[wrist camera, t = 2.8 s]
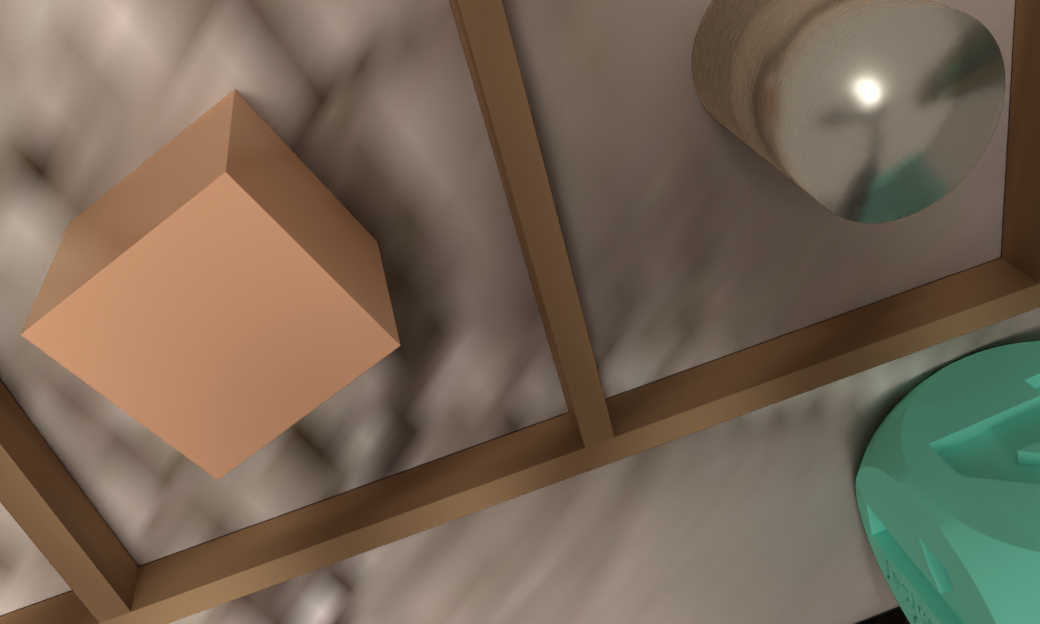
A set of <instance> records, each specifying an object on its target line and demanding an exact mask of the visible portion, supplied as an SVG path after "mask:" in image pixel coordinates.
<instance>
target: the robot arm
mask: <svg viewBox="0 0 1040 624" xmlns="http://www.w3.org/2000/svg"><path fill="white" fill-rule="evenodd" d="M868 624H910V622H909V621H908V619H907V617H906V616H905V614H904V612H903V611H900V612H897V613H895V614H892V615H889V616H887V617H884V618H882V619H879V620H876V621H874V622H871V623H868Z"/></svg>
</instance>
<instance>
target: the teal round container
mask: <svg viewBox="0 0 1040 624" xmlns="http://www.w3.org/2000/svg"><path fill="white" fill-rule="evenodd" d="M856 498H857V503H858V508H859V512H860V516H861V519H862V523H863V526H864V529H865V532H866V535H867V537H868V540H869V543H870V545H871V548H872V550H873V553H874V555H875V557H876V560H877V562H878V564H879V566H880V568H881V571H882V573H883V575H884V577H885V579H886V581H887V583H888V585H889V587H890V589H891V591H892V592H893V594H894V596H895V598H896V600H897V602H898V604H899V605H900V607H901V609H902V611H903V612H904V614H905V616H906V617H907V619H908V621H909V622H910V624H1040V341H1032V342H1022V343H1015V344H1009V345H1004V346H999V347H995V348H991V349H988V350H984V351H981V352H978V353H975V354H972V355H969V356H967V357H964V358H962V359H960V360H958V361H955V362H953V363H951V364H949V365H948V366H946V367H944V368H942V369H941V370H939V371H937V372H936V373H934V374H933V375H931V376H930V377H928V378H927V379H925V380H924V381H923V382H921V383H920V384H919V385H917V386H916V387H915V388H914V389H912V390H911V391H910V392H909V393H908V394H907V395H906V396H905V397H903V398H902V399H901V400H900V401H899V402H898V403H897V404H896V406H895V407H894V408H893V409H892V410H891V411H890V412H889V414H888V415H887V416H886V417H885V419H884V420H883V421H882V423H881V424H880V425H879V427H878V428H877V430H876V432H875V433H874V435H873V437H872V439H871V440H870V442H869V444H868V447H867V449H866V451H865V454H864V456H863V459H862V462H861V465H860V468H859V471H858V474H857V477H856Z"/></svg>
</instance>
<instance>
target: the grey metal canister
mask: <svg viewBox="0 0 1040 624" xmlns="http://www.w3.org/2000/svg"><path fill="white" fill-rule="evenodd" d="M692 72H693V80H694V84H695V88H696V91H697V94H698V96H699V98H700V100H701V102H702V104H703V106H704V107H705V108H706V110H707V111H708V112H709V114H710V115H711V116H713V117H714V118H715V119H716V120H717V121H718V122H719V123H721V124H722V125H723V126H724V127H726V128H727V129H728V130H729V131H731V132H732V133H733V134H734V135H736V136H737V137H738V138H739V139H741V140H742V141H743V142H744V143H746V144H747V145H748V146H749V147H751V148H752V149H753V150H754V151H756V152H757V153H758V154H759V155H761V156H762V157H763V158H764V159H766V160H767V161H768V162H769V163H771V164H772V165H773V166H774V167H776V168H777V169H778V170H779V171H781V172H782V173H783V174H784V175H786V176H787V177H788V178H789V179H791V180H792V181H793V182H794V183H796V184H797V185H798V186H799V187H801V188H802V189H803V190H804V191H806V192H807V193H808V194H809V195H811V196H812V197H813V198H814V199H816V200H817V201H818V202H819V203H821V204H822V205H823V206H824V207H826V208H827V209H828V210H830V211H831V212H833V213H834V214H836V215H838V216H840V217H842V218H845V219H848V220H852V221H855V222H863V223H881V222H887V221H893V220H896V219H900V218H903V217H906V216H909V215H911V214H913V213H916V212H918V211H920V210H922V209H924V208H926V207H927V206H929V205H931V204H932V203H934V202H935V201H937V200H938V199H940V198H941V197H943V196H944V195H945V194H946V193H948V192H949V191H950V190H951V189H952V188H954V187H955V186H956V185H957V184H958V183H959V182H960V181H961V180H962V179H963V178H964V177H965V175H966V174H967V173H968V172H969V171H970V170H971V168H972V167H973V166H974V165H975V163H976V162H977V160H978V159H979V158H980V156H981V155H982V153H983V152H984V150H985V148H986V146H987V145H988V143H989V141H990V139H991V137H992V135H993V133H994V130H995V128H996V126H997V123H998V120H999V117H1000V114H1001V110H1002V105H1003V101H1004V93H1005V70H1004V63H1003V59H1002V55H1001V52H1000V49H999V47H998V45H997V43H996V41H995V39H994V37H993V36H992V35H991V33H990V32H989V31H988V29H987V28H986V27H985V26H983V25H982V24H981V23H980V22H979V21H978V20H976V19H975V18H973V17H971V16H970V15H968V14H965V13H963V12H960V11H958V10H955V9H952V8H949V7H947V6H944V5H941V4H938V3H935V2H933V1H930V0H713V2H712V3H711V4H710V6H709V8H708V9H707V11H706V13H705V15H704V17H703V19H702V21H701V24H700V26H699V28H698V31H697V35H696V38H695V42H694V48H693V54H692Z"/></svg>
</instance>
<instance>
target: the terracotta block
mask: <svg viewBox="0 0 1040 624" xmlns="http://www.w3.org/2000/svg"><path fill="white" fill-rule="evenodd" d="M21 335H22V336H23V337H24V338H26V339H27V340H28V341H30V342H31V343H33V344H34V345H35V346H37V347H38V348H39V349H41V350H42V351H43V352H45V353H46V354H47V355H49V356H50V357H52V358H53V359H54V360H56V361H57V362H58V363H60V364H61V365H62V366H64V367H65V368H66V369H68V370H69V371H71V372H72V373H73V374H75V375H76V376H77V377H79V378H80V379H81V380H83V381H84V382H85V383H87V384H88V385H90V386H91V387H92V388H94V389H95V390H96V391H98V392H99V393H100V394H102V395H103V396H104V397H106V398H107V399H108V400H110V401H111V402H113V403H114V404H115V405H117V406H118V407H119V408H121V409H122V410H123V411H125V412H126V413H127V414H129V415H130V416H132V417H133V418H134V419H136V420H137V421H138V422H140V423H141V424H142V425H144V426H145V427H146V428H148V429H149V430H151V431H152V432H153V433H155V434H156V435H157V436H159V437H160V438H161V439H163V440H164V441H165V442H167V443H168V444H170V445H171V446H172V447H174V448H175V449H176V450H178V451H179V452H180V453H182V454H183V455H184V456H186V457H187V458H189V459H190V460H191V461H193V462H194V463H195V464H197V465H198V466H199V467H201V468H202V469H203V470H205V471H206V472H207V473H209V474H210V475H212V476H213V477H214V478H216V479H217V480H219V479H220V478H221V477H223V476H224V475H225V474H227V473H228V472H229V471H231V470H232V469H233V468H235V467H236V466H238V465H239V464H240V463H242V462H243V461H244V460H246V459H247V458H248V457H250V456H251V455H252V454H254V453H255V452H257V451H258V450H259V449H261V448H262V447H263V446H265V445H266V444H267V443H269V442H270V441H271V440H273V439H274V438H276V437H277V436H278V435H280V434H281V433H282V432H284V431H285V430H286V429H288V428H289V427H291V426H292V425H293V424H295V423H296V422H297V421H299V420H300V419H301V418H303V417H304V416H305V415H307V414H308V413H310V412H311V411H312V410H314V409H315V408H316V407H318V406H319V405H320V404H322V403H323V402H324V401H326V400H327V399H329V398H330V397H331V396H333V395H334V394H335V393H337V392H338V391H339V390H341V389H342V388H344V387H345V386H346V385H348V384H349V383H350V382H352V381H353V380H354V379H356V378H357V377H358V376H360V375H361V374H363V373H364V372H365V371H367V370H368V369H369V368H371V367H372V366H373V365H375V364H376V363H377V362H379V361H380V360H382V359H383V358H384V357H386V356H387V355H388V354H390V353H391V352H392V351H394V350H395V349H396V348H398V347H399V346H400V342H399V337H398V333H397V328H396V324H395V319H394V315H393V310H392V306H391V301H390V297H389V292H388V288H387V283H386V279H385V274H384V270H383V265H382V261H381V256H380V252H379V247H378V243H377V241H376V240H375V239H374V238H373V237H372V236H371V235H370V233H369V232H368V231H367V230H366V229H365V228H364V227H363V226H362V225H361V224H360V223H359V222H358V221H357V220H356V219H355V217H354V216H353V215H352V214H351V213H350V212H349V211H348V210H347V209H346V208H345V207H344V206H343V205H342V204H341V202H340V201H339V200H338V199H337V198H336V197H335V196H334V195H333V194H332V193H331V192H330V191H329V190H328V189H327V188H326V186H325V185H324V184H323V183H322V182H321V181H320V180H319V179H318V178H317V177H316V176H315V175H314V174H313V173H312V172H311V170H310V169H309V168H308V167H307V166H306V165H305V164H304V163H303V162H302V161H301V160H300V159H299V158H298V157H297V155H296V154H295V153H294V152H293V151H292V150H291V149H290V148H289V147H288V146H287V145H286V144H285V143H284V142H283V141H282V139H281V138H280V137H279V136H278V135H277V134H276V133H275V132H274V131H273V130H272V129H271V128H270V127H269V126H268V124H267V123H266V122H265V121H264V120H263V119H262V118H261V117H260V116H259V115H258V114H257V113H256V112H255V111H254V110H253V108H252V107H251V106H250V105H249V104H248V103H247V102H246V101H245V100H244V99H243V98H242V97H241V96H240V95H239V93H238V92H237V91H236V90H233V91H232V92H231V93H230V94H228V95H227V96H226V97H225V98H223V99H222V100H221V101H220V102H219V103H217V104H216V105H215V106H214V107H212V108H211V109H210V110H209V111H207V112H206V113H205V114H204V115H202V116H201V117H200V118H199V119H197V120H196V121H195V122H194V123H193V124H191V125H190V126H189V127H188V128H186V129H185V130H184V131H183V132H181V133H180V134H179V135H178V136H176V137H175V138H174V139H173V140H172V141H170V142H169V143H168V144H167V145H165V146H164V147H163V148H162V149H160V150H159V151H158V152H157V153H155V154H154V155H153V156H152V157H150V158H149V159H148V160H147V161H146V162H144V163H143V164H142V165H141V166H139V167H138V168H137V169H136V170H134V171H133V172H132V173H131V174H129V175H128V176H127V177H126V178H124V179H123V180H122V181H121V182H120V183H118V184H117V185H116V186H115V187H113V188H112V189H111V190H110V191H108V192H107V193H106V194H105V195H103V196H102V197H101V198H100V199H99V200H97V201H96V202H95V203H94V204H92V205H91V206H90V207H89V208H87V209H86V210H85V211H84V212H82V213H81V214H80V215H79V216H77V217H76V218H75V219H74V220H73V221H71V222H70V223H69V225H68V228H67V230H66V232H65V234H64V237H63V239H62V241H61V243H60V246H59V248H58V250H57V253H56V255H55V257H54V259H53V262H52V264H51V266H50V269H49V271H48V273H47V275H46V278H45V280H44V282H43V285H42V287H41V289H40V291H39V294H38V296H37V298H36V301H35V303H34V305H33V307H32V310H31V312H30V314H29V316H28V319H27V321H26V323H25V326H24V328H23V330H22V332H21Z"/></svg>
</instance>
